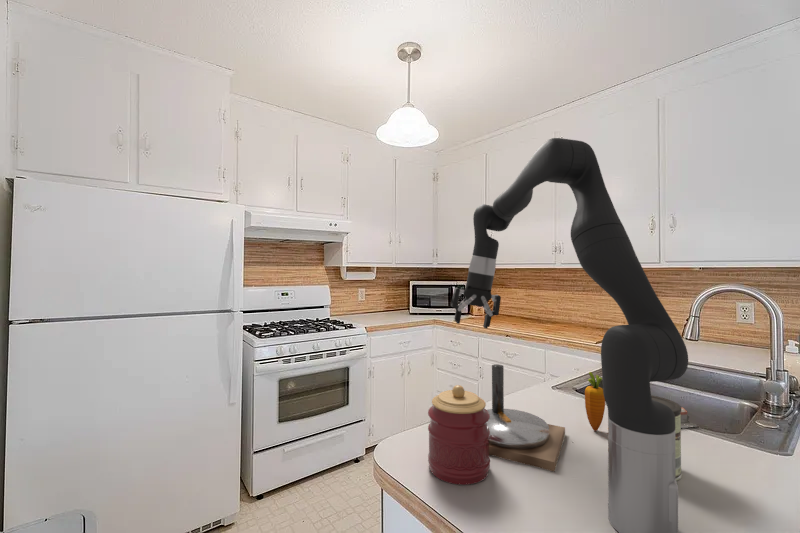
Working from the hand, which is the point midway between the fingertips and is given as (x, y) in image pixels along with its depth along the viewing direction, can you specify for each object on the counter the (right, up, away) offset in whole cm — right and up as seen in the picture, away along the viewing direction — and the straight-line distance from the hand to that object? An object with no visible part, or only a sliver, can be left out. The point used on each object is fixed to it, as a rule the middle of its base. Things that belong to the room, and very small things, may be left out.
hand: (471, 325), depth 110 cm
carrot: (+29, -25, -15) cm, 41 cm away
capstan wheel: (+6, -23, -20) cm, 31 cm away
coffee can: (+32, -25, -33) cm, 52 cm away
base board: (+6, -25, -20) cm, 32 cm away
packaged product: (+48, -26, -10) cm, 55 cm away
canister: (-9, -25, -32) cm, 42 cm away
